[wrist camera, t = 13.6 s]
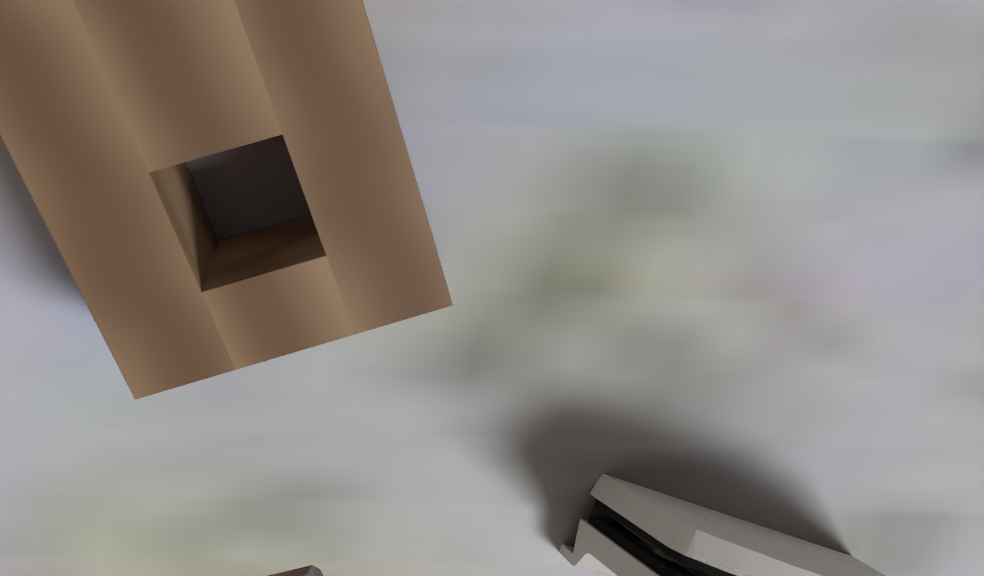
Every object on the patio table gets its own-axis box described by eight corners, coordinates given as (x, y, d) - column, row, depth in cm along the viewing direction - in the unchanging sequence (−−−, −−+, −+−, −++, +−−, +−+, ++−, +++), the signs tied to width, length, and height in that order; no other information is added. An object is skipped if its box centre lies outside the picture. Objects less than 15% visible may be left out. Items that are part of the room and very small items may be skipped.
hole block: (251, -372, 27) (235, -425, 23) (438, 255, 37) (452, 305, 32) (-131, -274, 27) (-226, -309, 22) (159, 336, 36) (135, 399, 32)
